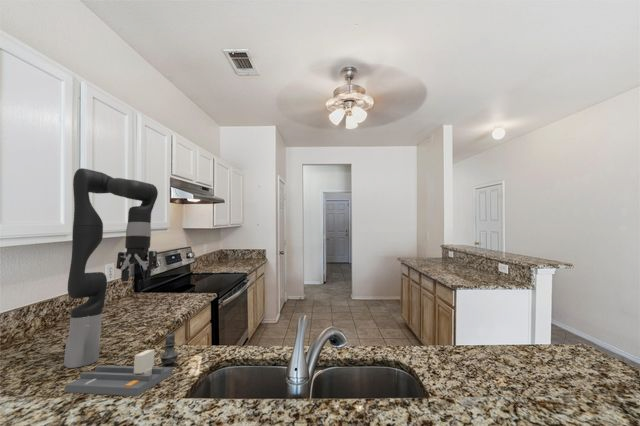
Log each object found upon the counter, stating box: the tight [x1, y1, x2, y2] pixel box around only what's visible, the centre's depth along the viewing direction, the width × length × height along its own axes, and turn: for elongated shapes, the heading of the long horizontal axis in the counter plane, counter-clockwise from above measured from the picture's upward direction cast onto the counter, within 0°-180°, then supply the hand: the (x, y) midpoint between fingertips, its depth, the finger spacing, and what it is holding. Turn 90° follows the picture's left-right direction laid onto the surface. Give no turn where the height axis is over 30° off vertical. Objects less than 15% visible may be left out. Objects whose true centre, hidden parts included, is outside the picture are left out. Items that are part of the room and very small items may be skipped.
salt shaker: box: [159, 329, 179, 368], centre depth 96 cm, size 6×6×12 cm
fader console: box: [64, 364, 174, 397], centre depth 84 cm, size 24×14×4 cm, turn 81°
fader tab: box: [133, 349, 156, 374], centre depth 84 cm, size 3×5×7 cm, turn 171°
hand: (135, 281), depth 96 cm, fingers open, 8 cm apart
